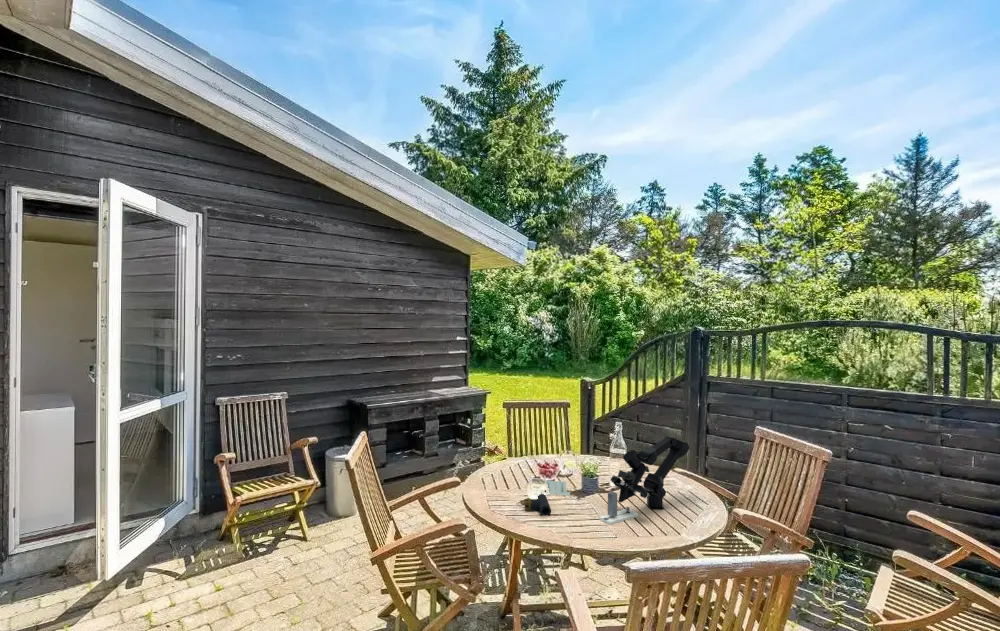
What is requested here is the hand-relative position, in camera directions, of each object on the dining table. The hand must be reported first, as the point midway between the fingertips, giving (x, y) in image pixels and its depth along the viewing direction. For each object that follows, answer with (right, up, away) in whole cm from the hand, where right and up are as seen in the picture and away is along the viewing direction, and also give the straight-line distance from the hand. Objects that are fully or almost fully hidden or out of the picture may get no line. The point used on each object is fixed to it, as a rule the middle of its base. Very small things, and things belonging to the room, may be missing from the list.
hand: (619, 501), depth 224 cm
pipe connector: (-37, -8, +9) cm, 39 cm away
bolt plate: (0, -7, 0) cm, 7 cm away
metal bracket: (-26, -8, +33) cm, 43 cm away
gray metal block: (-4, -6, -2) cm, 7 cm away
